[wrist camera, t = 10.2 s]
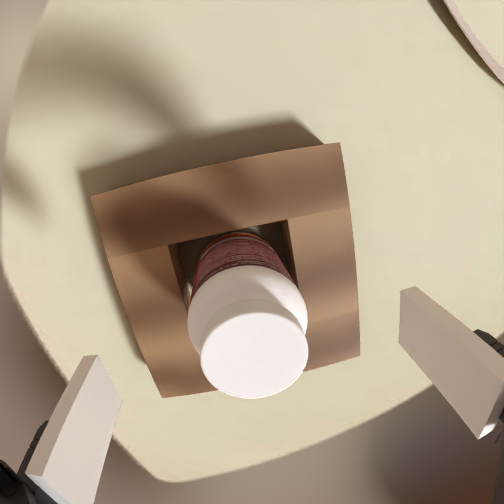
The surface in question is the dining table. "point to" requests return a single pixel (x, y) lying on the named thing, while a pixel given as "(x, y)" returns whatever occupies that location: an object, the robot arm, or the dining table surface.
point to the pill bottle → (247, 318)
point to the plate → (475, 40)
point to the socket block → (224, 220)
